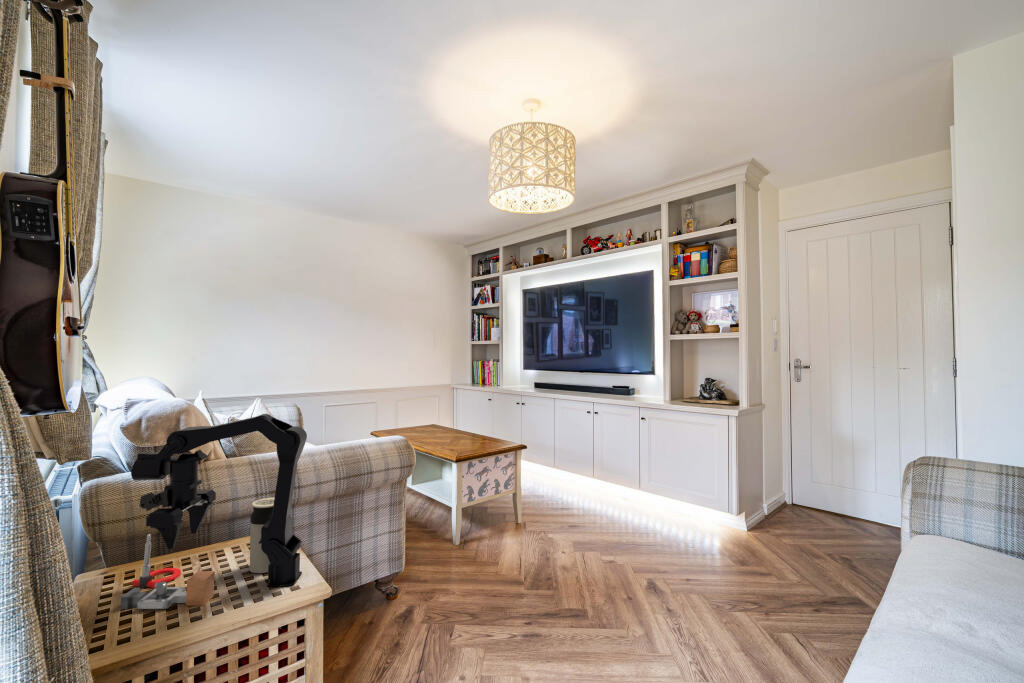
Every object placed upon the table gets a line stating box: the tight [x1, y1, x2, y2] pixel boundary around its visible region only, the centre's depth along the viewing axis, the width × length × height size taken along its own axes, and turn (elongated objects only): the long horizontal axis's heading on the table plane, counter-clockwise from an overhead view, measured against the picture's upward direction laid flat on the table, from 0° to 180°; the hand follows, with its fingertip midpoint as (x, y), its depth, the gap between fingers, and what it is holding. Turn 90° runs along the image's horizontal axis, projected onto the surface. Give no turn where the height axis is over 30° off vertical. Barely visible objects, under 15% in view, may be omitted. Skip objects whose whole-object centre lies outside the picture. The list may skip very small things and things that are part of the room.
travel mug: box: [249, 497, 275, 574], centre depth 124 cm, size 8×8×18 cm
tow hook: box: [131, 533, 182, 589], centre depth 117 cm, size 8×13×9 cm
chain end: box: [136, 570, 216, 610], centre depth 106 cm, size 14×6×6 cm, turn 96°
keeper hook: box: [120, 582, 168, 610], centre depth 105 cm, size 8×4×4 cm, turn 96°
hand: (182, 540), depth 112 cm, fingers open, 9 cm apart
